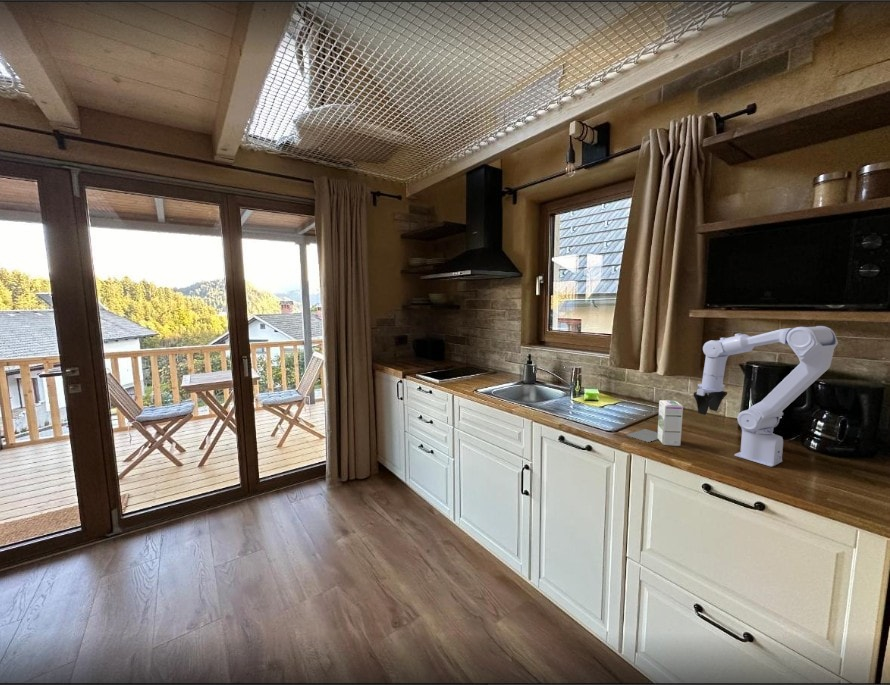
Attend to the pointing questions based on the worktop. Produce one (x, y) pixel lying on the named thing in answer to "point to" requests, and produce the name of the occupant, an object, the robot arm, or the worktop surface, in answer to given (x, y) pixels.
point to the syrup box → (670, 422)
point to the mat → (644, 435)
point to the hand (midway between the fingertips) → (707, 412)
